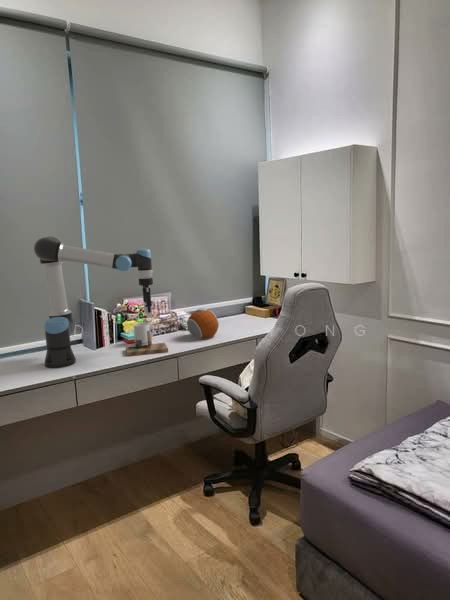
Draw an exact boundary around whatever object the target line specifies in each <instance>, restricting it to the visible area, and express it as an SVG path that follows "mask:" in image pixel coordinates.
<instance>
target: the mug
mask: <svg viewBox="0 0 450 600" xmlns="http://www.w3.org/2000/svg"><path fill="white" fill-rule="evenodd" d="M150 327H152V332H151V338H152V337H153V336H155V325H150V323H148V322H138V323H135V324H133V333H134V334H133V335H134V344H136V340H142V345H148V340H147V331H148V330H150Z"/></svg>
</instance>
